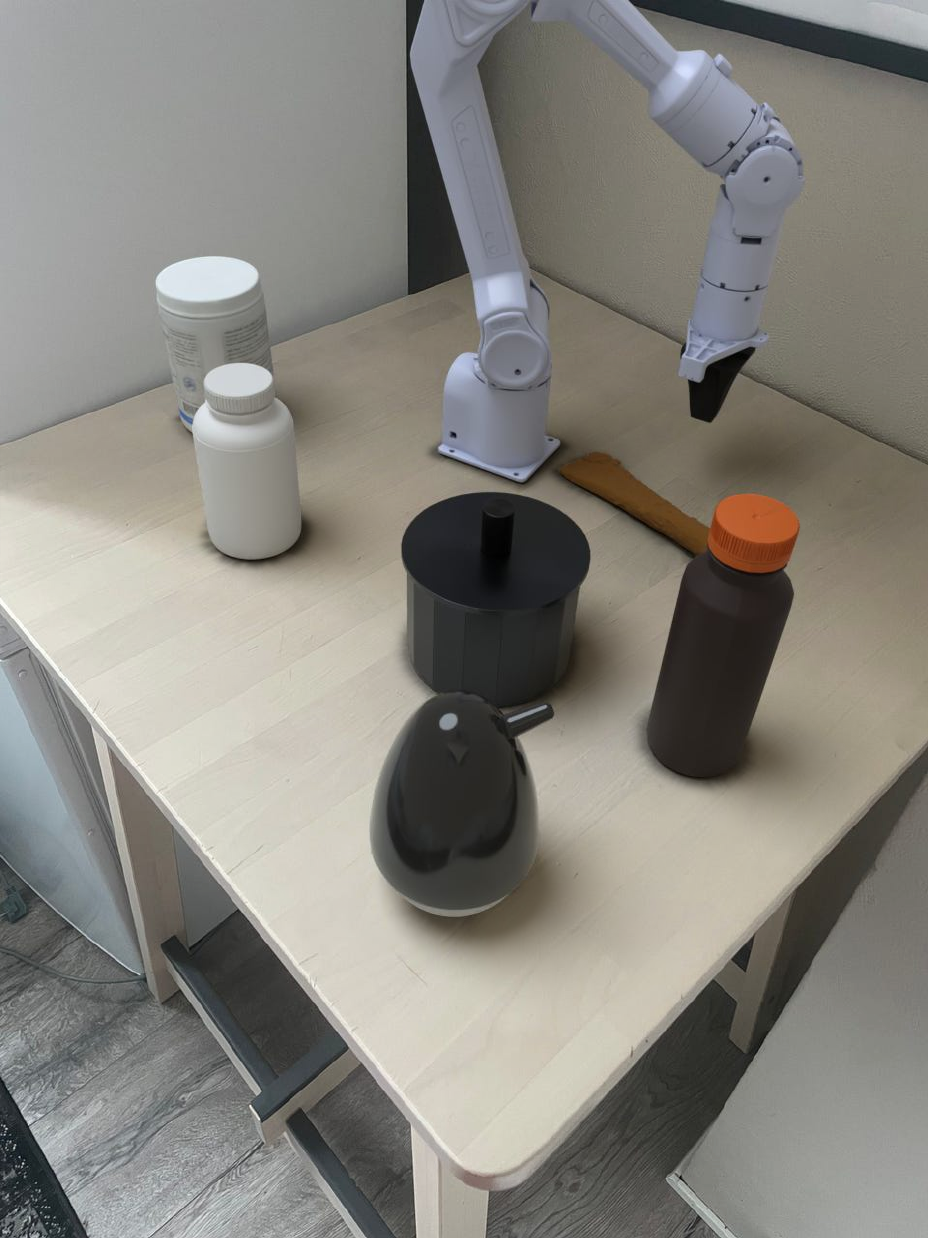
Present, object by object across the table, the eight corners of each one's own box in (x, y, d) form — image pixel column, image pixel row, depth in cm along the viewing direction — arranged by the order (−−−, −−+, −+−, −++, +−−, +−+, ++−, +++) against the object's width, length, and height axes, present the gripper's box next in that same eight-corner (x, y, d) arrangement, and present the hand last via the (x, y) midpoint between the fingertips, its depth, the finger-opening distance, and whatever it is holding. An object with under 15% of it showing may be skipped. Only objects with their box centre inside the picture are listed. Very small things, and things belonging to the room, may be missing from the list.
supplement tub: (274, 389, 106) (259, 251, 96) (282, 439, 100) (267, 296, 90) (178, 397, 105) (153, 257, 95) (180, 449, 98) (153, 303, 88)
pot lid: (364, 577, 71) (361, 524, 68) (462, 483, 80) (464, 432, 77) (534, 650, 67) (540, 597, 64) (619, 542, 75) (628, 490, 72)
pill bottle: (322, 533, 89) (310, 379, 79) (248, 575, 85) (226, 417, 75) (263, 494, 93) (245, 342, 83) (190, 533, 89) (161, 377, 78)
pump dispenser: (555, 927, 62) (584, 766, 52) (385, 957, 60) (378, 797, 50) (514, 793, 69) (531, 629, 59) (360, 816, 67) (351, 651, 57)
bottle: (666, 694, 76) (721, 470, 63) (754, 731, 74) (831, 507, 60) (630, 754, 72) (680, 528, 58) (722, 795, 70) (797, 569, 56)
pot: (377, 665, 78) (373, 569, 71) (461, 576, 86) (464, 482, 79) (521, 732, 73) (532, 636, 67) (595, 631, 81) (611, 536, 75)
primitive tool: (555, 472, 97) (559, 440, 95) (598, 454, 100) (603, 423, 97) (706, 582, 86) (715, 549, 84) (749, 558, 89) (759, 526, 86)
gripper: (751, 322, 80) (715, 467, 90) (806, 258, 90) (769, 395, 99) (667, 298, 83) (641, 442, 92) (730, 239, 92) (700, 374, 101)
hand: (703, 416), depth 96 cm, fingers closed
